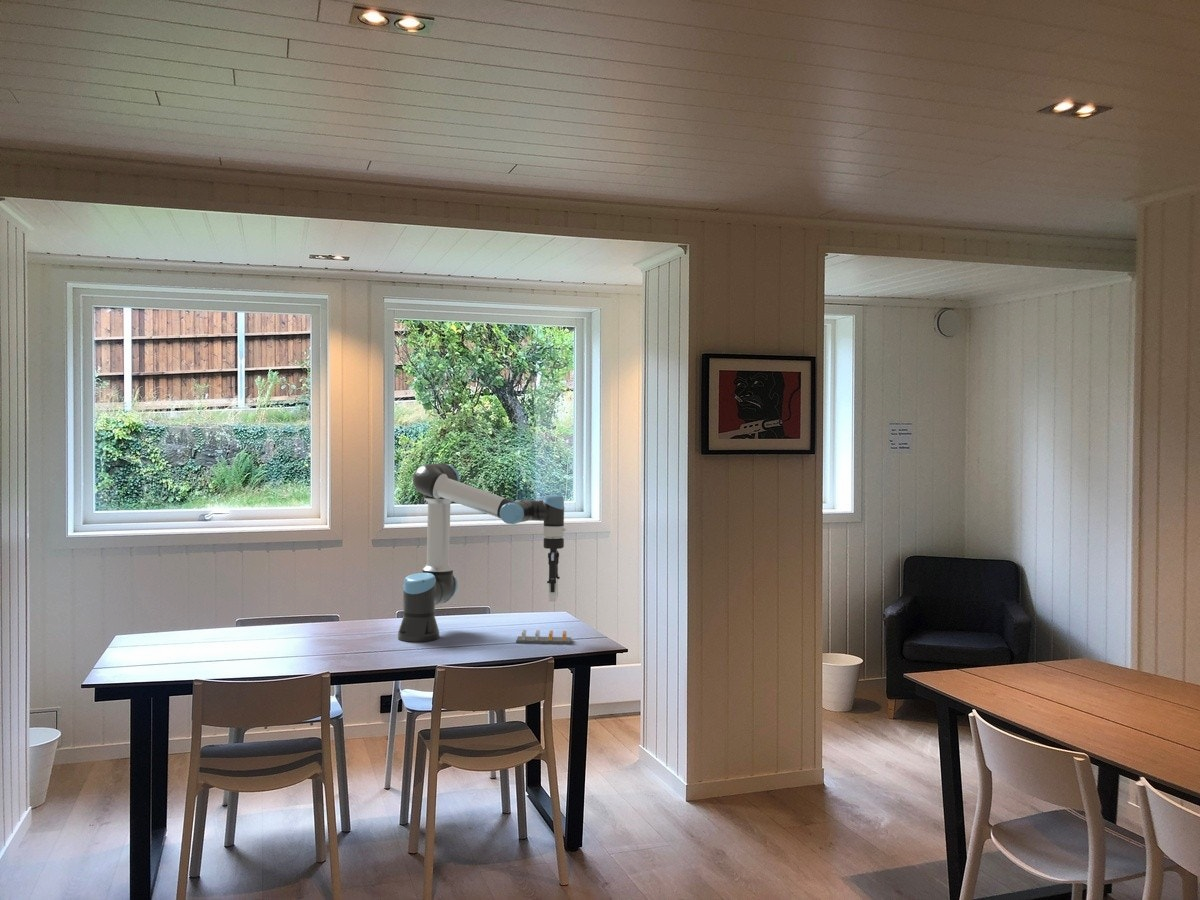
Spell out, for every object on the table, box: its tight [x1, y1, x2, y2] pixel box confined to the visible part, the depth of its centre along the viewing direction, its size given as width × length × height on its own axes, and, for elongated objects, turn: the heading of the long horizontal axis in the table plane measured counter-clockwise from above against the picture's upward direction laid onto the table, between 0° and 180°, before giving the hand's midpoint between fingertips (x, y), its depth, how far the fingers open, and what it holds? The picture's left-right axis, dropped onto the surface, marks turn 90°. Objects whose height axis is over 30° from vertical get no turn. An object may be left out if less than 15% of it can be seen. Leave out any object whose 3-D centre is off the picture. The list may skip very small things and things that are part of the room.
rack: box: [515, 629, 572, 645], centre depth 348 cm, size 20×7×4 cm, turn 90°
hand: (553, 598), depth 348 cm, fingers closed on panel, 8 cm apart
